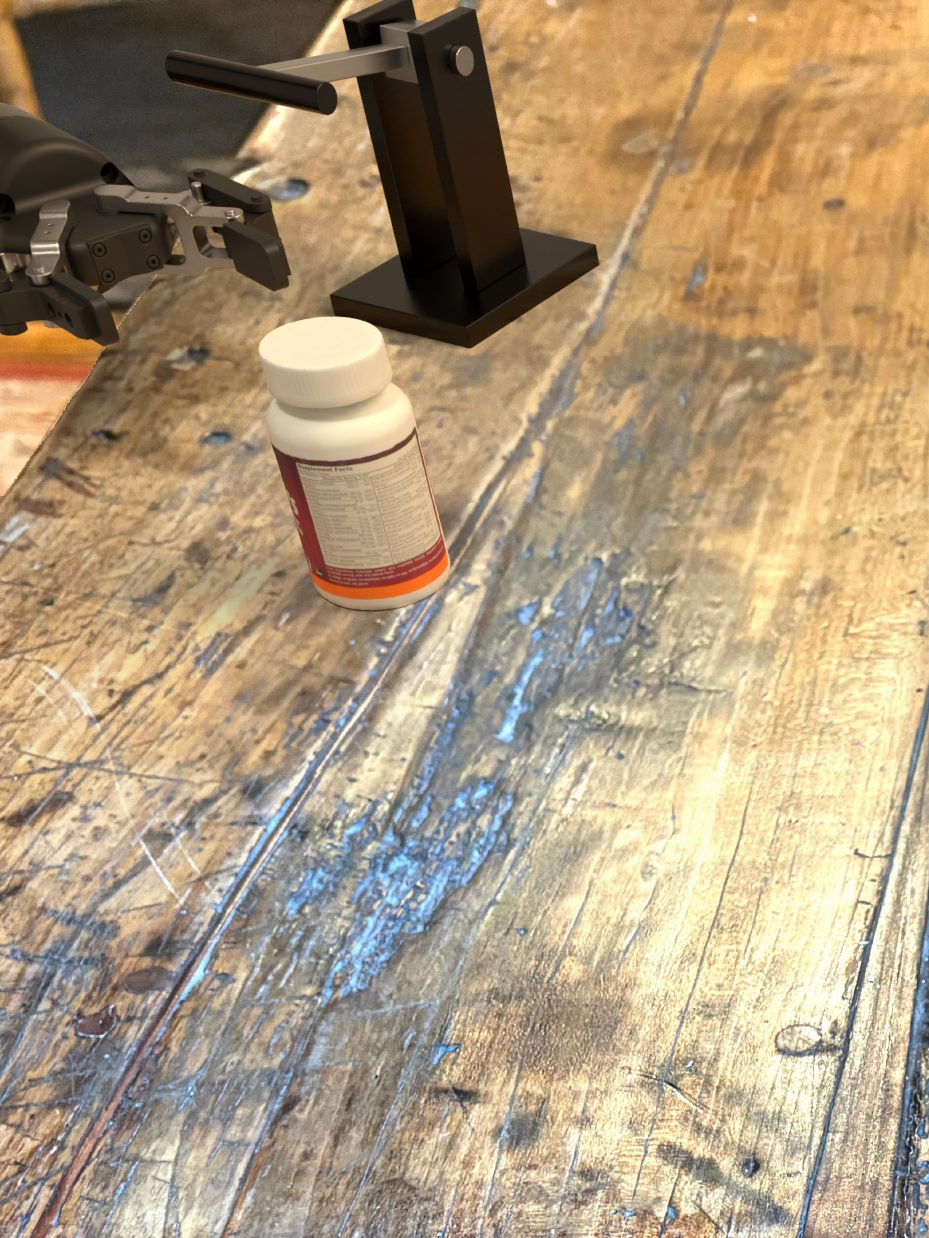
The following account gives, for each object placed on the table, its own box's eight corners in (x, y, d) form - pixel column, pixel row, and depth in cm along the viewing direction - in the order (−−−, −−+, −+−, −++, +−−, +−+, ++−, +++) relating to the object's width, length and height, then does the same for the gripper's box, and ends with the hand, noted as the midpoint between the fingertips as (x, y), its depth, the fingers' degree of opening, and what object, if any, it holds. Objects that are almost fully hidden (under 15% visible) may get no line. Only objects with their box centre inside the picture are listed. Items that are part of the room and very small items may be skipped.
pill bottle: (323, 550, 104) (253, 312, 96) (458, 543, 105) (400, 306, 96) (307, 620, 100) (232, 377, 91) (448, 611, 100) (386, 370, 92)
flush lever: (320, 128, 104) (312, 72, 103) (169, 95, 107) (159, 40, 105) (509, 88, 115) (504, 36, 114) (367, 59, 117) (361, 8, 116)
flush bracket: (471, 351, 118) (407, 65, 108) (334, 318, 121) (259, 35, 110) (600, 267, 126) (552, -7, 116) (469, 237, 128) (410, -34, 118)
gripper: (-156, 154, 102) (15, 256, 95) (131, 79, 110) (311, 168, 102) (-91, 315, 108) (76, 424, 100) (179, 233, 115) (353, 329, 108)
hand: (195, 295), depth 101 cm, fingers open, 8 cm apart
